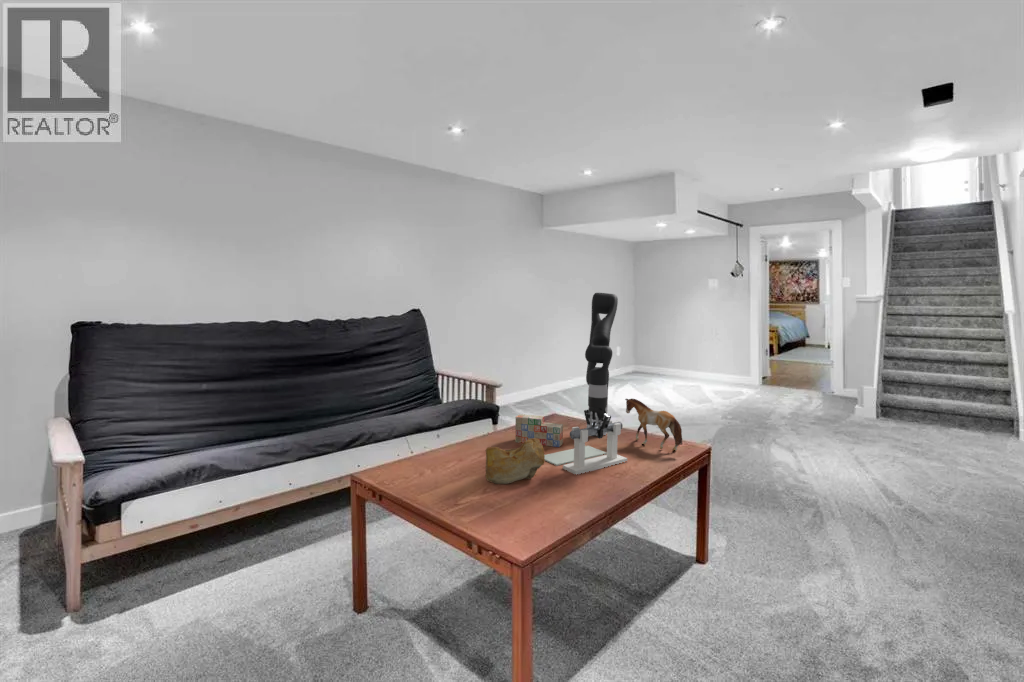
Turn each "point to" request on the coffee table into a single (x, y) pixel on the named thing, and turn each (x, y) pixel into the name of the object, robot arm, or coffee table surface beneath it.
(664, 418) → the horse figurine
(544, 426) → the stack of blocks
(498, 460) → the rough brown rock
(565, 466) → the rack
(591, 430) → the rail
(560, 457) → the mat
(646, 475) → the coffee table surface
